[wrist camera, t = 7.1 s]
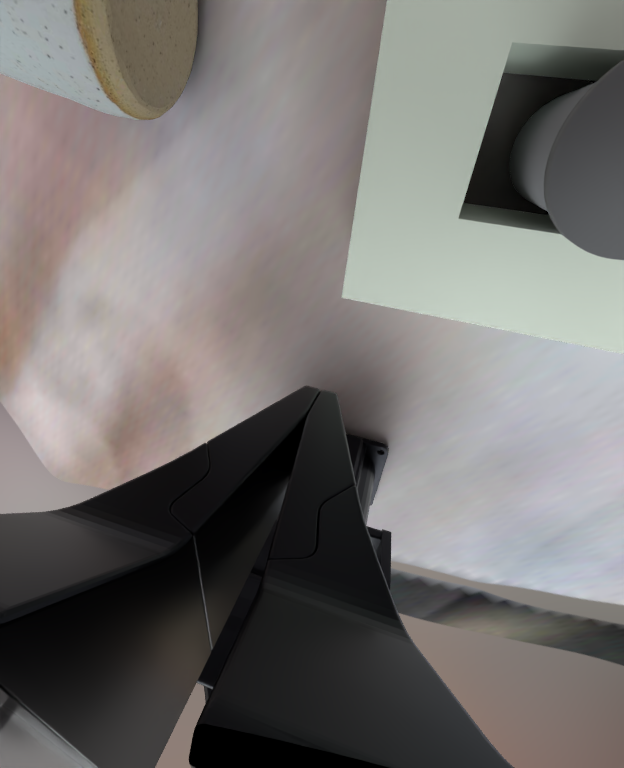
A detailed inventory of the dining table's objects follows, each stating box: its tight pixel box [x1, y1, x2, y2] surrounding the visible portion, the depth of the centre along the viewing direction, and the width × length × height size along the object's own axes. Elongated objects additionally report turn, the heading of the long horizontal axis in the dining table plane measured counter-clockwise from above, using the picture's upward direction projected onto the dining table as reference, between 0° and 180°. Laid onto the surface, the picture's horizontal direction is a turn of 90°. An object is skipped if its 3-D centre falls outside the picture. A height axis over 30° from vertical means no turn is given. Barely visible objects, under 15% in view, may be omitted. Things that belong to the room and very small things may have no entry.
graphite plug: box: [509, 60, 624, 260], centre depth 11 cm, size 4×4×8 cm
